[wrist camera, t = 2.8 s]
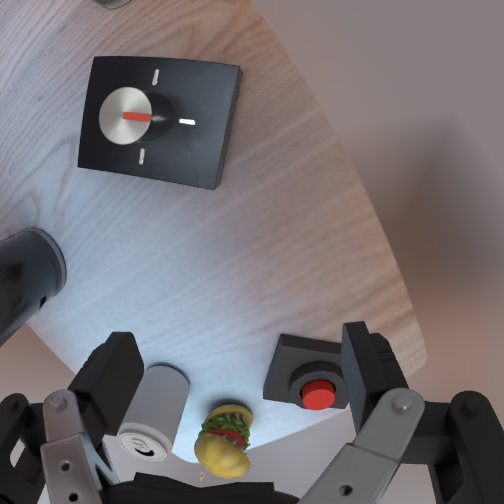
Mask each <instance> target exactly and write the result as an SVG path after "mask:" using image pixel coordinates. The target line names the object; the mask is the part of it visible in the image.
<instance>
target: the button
mask: <svg viewBox="0 0 504 504" xmlns="http://www.w3.org/2000/svg"><path fill="white" fill-rule="evenodd" d="M302 396H303V404H304V406H305V407H307V408H308V409H311V410H322V409H325V408H328V407H329V406H331V405H332V404H333V402H334V400H335V395H334V390H333V385H332V384H331V383H330V382H329V381H327V380H323V379H317V380H312V381H310V382H308V383H307V384H306V385H305V386H304V387H303V389H302Z"/></svg>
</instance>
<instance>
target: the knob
mask: <svg viewBox="0 0 504 504" xmlns="http://www.w3.org/2000/svg"><path fill="white" fill-rule="evenodd" d="M171 120H172V110H171V106H170V104H169V102H168V101H167V100H166V99H165V98H164V97H163V96H162V95H160V94H157V93H154V92H150V91H146V90H142V89H138V88H134V87H123V88H119V89H117V90H115V91H114V92H112V93H111V94H110V95H109V96H108V97H107V98H106V99H105V101H104V102H103V104H102V106H101V109H100V114H99V123H100V127H101V130H102V132H103V134H104V135H105V137H106V138H107V139H108V140H110V141H111V142H113V143H116V144H120V145H126V144H133V143H139V142H146V141H152V140H155V139H158V138H159V137H161V136H162V135H163V134H164V133H165V132H166V131H167V130H168V128H169V126H170V123H171Z"/></svg>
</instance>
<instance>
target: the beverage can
mask: <svg viewBox="0 0 504 504" xmlns="http://www.w3.org/2000/svg"><path fill="white" fill-rule="evenodd" d="M188 394H189V383H188V381H187V380H186V378H185V377H184V376H183V375H182V374H181V373H179V372H178V371H176V370H175V369H173V368H170V367H167V366H154V367H151V368H149V369H148V370H147V371H146V372H145V373H144V375H143V378H142V380H141V382H140V384H139V386H138V389H137V391H136V393H135V395H134V397H133V399H132V402H131V404H130V406H129V408H128V410H127V413H126V415H125V417H124V419H123V422H122V424H121V426H120V428H119V437H118V441H119V443H120V445H121V446H122V448H123V449H125V450H126V451H127V452H128V453H130V454H131V455H133V456H135V457H138V458H140V459H143V460H147V461H154V462H156V461H162V460H164V459H165V458H166V456H167V454H168V453H169V452H171V450H172V447H173V444H174V441H175V437H176V434H177V430H178V427H179V424H180V420H181V417H182V414H183V410H184V407H185V404H186V400H187V397H188Z"/></svg>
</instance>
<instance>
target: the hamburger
mask: <svg viewBox="0 0 504 504" xmlns="http://www.w3.org/2000/svg"><path fill="white" fill-rule="evenodd" d="M252 420H253V418H252V415H251V413H250V412H249V411H248V410H247V409H246V408H244V407H242V406H240V405H234V404H230V405H224V406H220V407H218V408H216V409H214V410H213V411H212V412H210V413H209V414H208V416H207V417H206V419H205V422H204V423H203V424H202V425H201V426H202V429H203V430H201V432H199V435H198V438H197V440H196V442H195V446H194V450H195V455H196V457H197V459H198V461H199V462H200V463H201V465H202V466H203V467H204V468H206V469H207V471H210V472H211V473H213V474H215V475H217V476H220V477H223V478H237V477H240V476H242V475H243V474H245V473H246V472H247V471H248V470H249V468H250V462H249V460H248V458H247V456H246V454H247V453H246V454H245V453H243V451H244V450H246V448H247V447H248V446H250V443H249V444H247V442H249V440H248V437H249V436H250V432H249V428H250V426H251V424H252ZM207 471H206V472H207ZM205 474H206V473H202V472H201V479H200V481H201V480H202V479H203V477H204V475H205Z"/></svg>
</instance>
